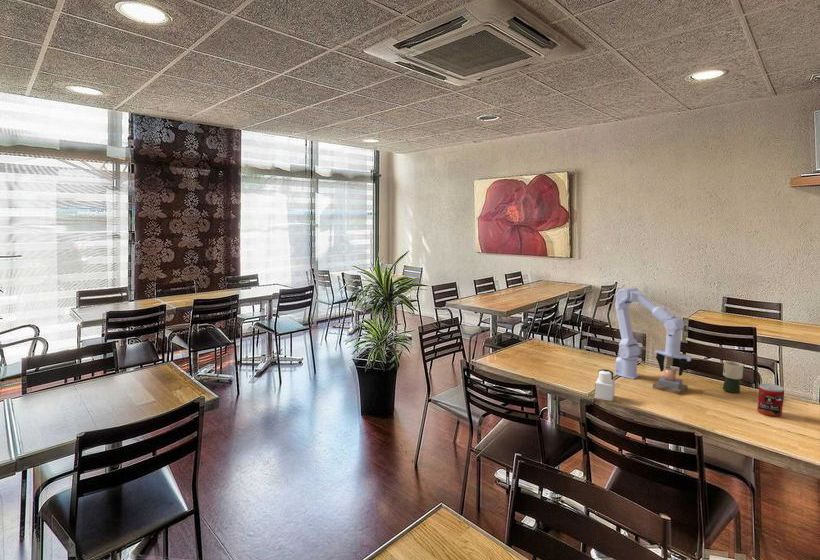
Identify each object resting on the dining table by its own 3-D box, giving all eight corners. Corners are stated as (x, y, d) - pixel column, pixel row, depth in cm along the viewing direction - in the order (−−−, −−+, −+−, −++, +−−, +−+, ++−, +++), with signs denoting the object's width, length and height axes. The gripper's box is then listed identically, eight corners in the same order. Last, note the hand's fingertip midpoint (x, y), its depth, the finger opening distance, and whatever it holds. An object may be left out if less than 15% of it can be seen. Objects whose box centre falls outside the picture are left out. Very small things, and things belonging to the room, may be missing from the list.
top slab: (658, 385, 202) (658, 379, 201) (662, 380, 207) (662, 375, 207) (678, 389, 196) (678, 384, 196) (682, 384, 202) (682, 379, 202)
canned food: (755, 413, 175) (757, 386, 173) (758, 407, 180) (761, 381, 179) (780, 419, 169) (783, 392, 168) (782, 413, 175) (785, 386, 174)
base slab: (652, 389, 202) (652, 384, 202) (661, 384, 210) (661, 379, 210) (679, 396, 194) (679, 391, 194) (687, 390, 202) (687, 385, 201)
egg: (662, 379, 202) (663, 369, 201) (666, 376, 204) (667, 367, 204) (672, 382, 198) (673, 372, 198) (676, 379, 201) (677, 370, 200)
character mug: (725, 386, 204) (728, 359, 203) (744, 390, 199) (747, 362, 197) (717, 392, 197) (720, 364, 196) (736, 396, 192) (739, 367, 190)
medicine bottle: (596, 392, 197) (598, 367, 196) (614, 395, 194) (615, 369, 192) (594, 398, 191) (595, 371, 190) (612, 401, 188) (613, 374, 186)
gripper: (652, 342, 202) (650, 371, 204) (688, 348, 191) (686, 378, 193) (658, 339, 207) (656, 367, 208) (693, 345, 196) (691, 375, 198)
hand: (671, 372), depth 201 cm, fingers open, 7 cm apart
